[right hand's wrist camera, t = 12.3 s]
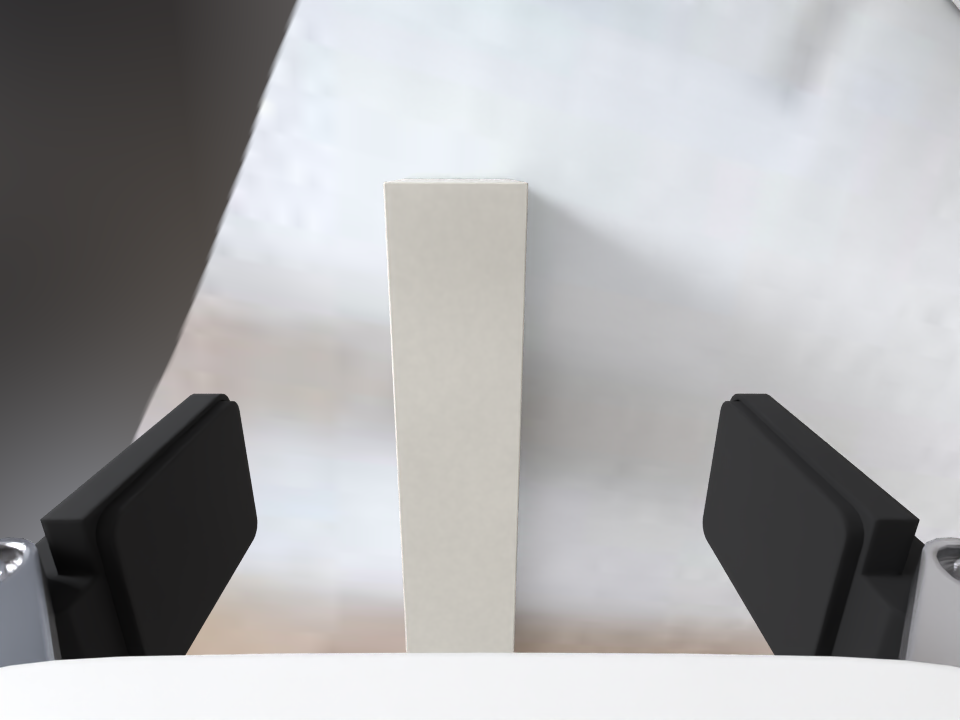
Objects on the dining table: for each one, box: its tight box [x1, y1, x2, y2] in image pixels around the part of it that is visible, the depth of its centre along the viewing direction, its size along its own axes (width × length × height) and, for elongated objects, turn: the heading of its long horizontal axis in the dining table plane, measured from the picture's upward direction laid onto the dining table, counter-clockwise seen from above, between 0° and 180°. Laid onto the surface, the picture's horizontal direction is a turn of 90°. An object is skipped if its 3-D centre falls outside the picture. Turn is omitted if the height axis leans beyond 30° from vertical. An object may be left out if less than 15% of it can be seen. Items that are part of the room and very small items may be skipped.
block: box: [383, 179, 528, 653], centre depth 34 cm, size 59×5×8 cm, turn 0°
